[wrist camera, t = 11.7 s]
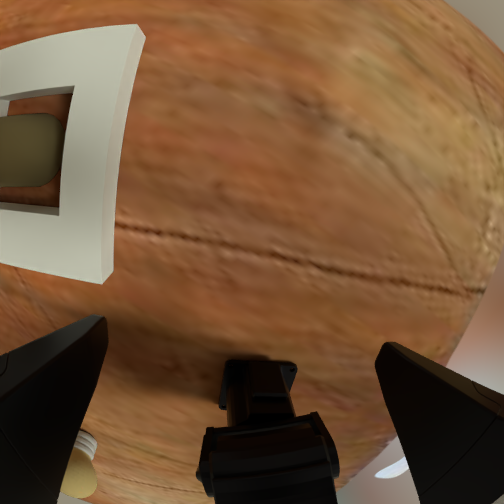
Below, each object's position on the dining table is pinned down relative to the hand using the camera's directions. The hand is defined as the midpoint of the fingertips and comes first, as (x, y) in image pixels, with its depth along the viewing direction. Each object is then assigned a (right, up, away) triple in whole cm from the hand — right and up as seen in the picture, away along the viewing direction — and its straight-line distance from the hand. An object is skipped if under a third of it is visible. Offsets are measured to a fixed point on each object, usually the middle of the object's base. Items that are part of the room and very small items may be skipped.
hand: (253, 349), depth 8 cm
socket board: (-17, +11, +8) cm, 22 cm away
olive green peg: (-17, +11, +9) cm, 22 cm away
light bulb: (-22, -21, +19) cm, 36 cm away
